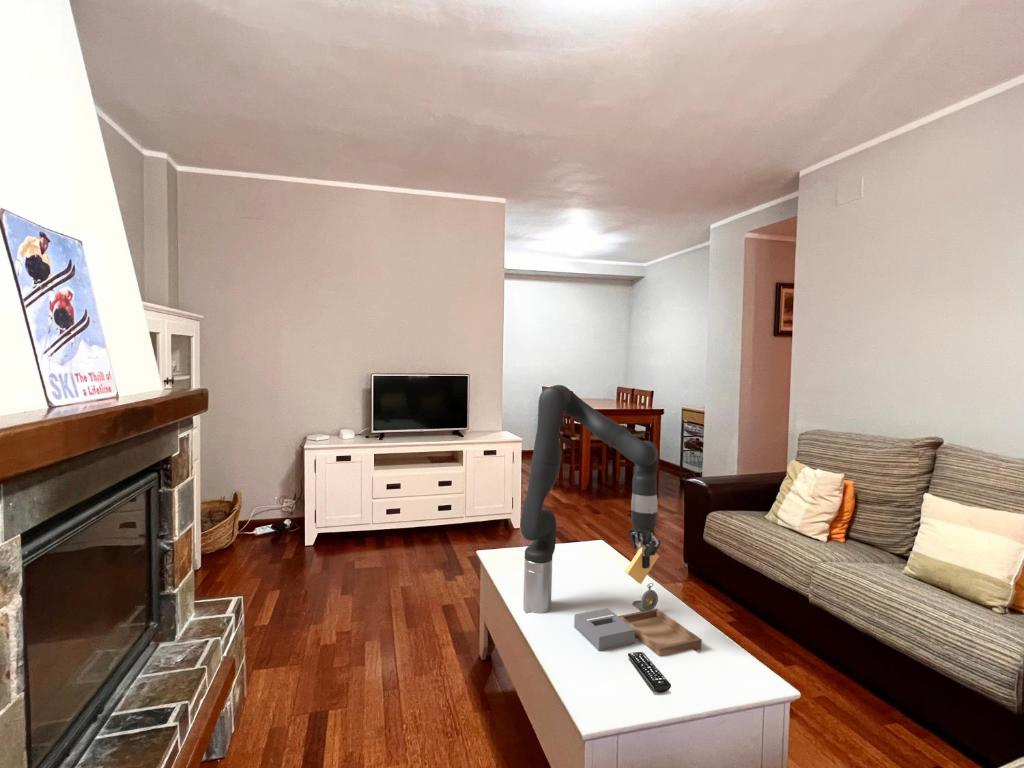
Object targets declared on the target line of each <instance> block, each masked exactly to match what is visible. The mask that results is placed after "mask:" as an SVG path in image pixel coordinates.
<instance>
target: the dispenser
mask: <svg viewBox="0 0 1024 768" xmlns="http://www.w3.org/2000/svg"><path fill="white" fill-rule="evenodd" d="M618 616H619V615H617V614H616V613H615V612H614V611H612V610H611V609H609V608H608V607H607V608H603V609H597V610H591V611H585V612H579V613H576V614H574V621H573V622H574V623H573V628H574V629H575V630H576V631H577V632H578V633H579V634H580V635H581V636H583V638H585V639H586V640H587V642H588V643H590V645H592V646H593V647H594V649H596V651H598V652H601V651H606V650H611V649H614V648H615V649H616V648H619V647H624V646H629V645H633V644H634V645H635V638H636V637H635V629H633V628H632V627H631V626H630V625H628V624H627V623H626V622H625V621H623V620H622V619H621V618H620V617H618Z"/></svg>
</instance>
